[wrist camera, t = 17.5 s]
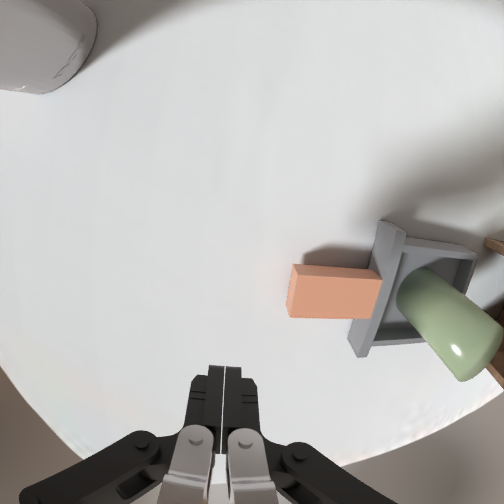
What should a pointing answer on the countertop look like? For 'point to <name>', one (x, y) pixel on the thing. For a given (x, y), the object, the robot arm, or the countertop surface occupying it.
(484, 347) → the jar
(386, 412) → the countertop surface
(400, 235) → the tray
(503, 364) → the cabinet
